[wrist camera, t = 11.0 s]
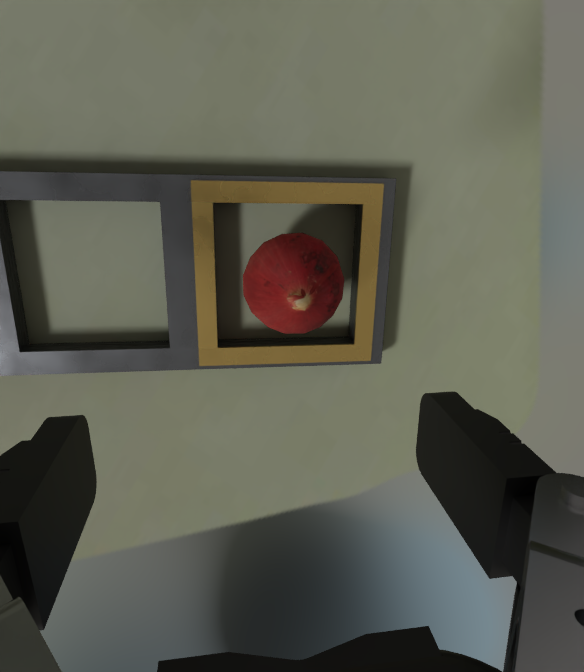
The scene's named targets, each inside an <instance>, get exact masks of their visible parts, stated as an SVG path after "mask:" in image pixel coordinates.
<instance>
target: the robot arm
mask: <svg viewBox="0 0 584 672" xmlns="http://www.w3.org/2000/svg"><path fill="white" fill-rule="evenodd" d="M416 457H417V463H418V467H419V470H420V472H421V474H422V476H423V477H424V479H425V480H426V482H427V483H428V485H429V486H430V488H431V490H432V491H433V493H434V494H435V495H436V497H437V499H438V500H439V501H440V503H441V505H442V506H443V508H444V509H445V511H446V513H447V514H448V516H449V517H450V519H451V520H452V522H453V523H454V525H455V526H456V528H457V529H458V531H459V533H460V534H461V536H462V537H463V538H464V540H465V542H466V543H467V545H468V546H469V548H470V549H471V551H472V552H473V554H474V556H475V557H476V559H477V560H478V562H479V563H480V565H481V566H482V568H483V569H484V571H485V572H486V574H487V575H488V577H489V578H490V579H491V578H499V577H508V576H513V577H514V579H515V580H516V581H517V585H516V590H515V595H514V601H513V609H512V615H511V623H510V629H509V635H508V642H507V649H506V656H505V663H504V670H503V672H584V477H581V476H577V475H573V474H565V473H556V472H555V471H554V470H553V469H552V468H550V467H549V466H548V465H547V464H546V463H545V462H544V461H543V460H542V459H541V458H539V457H538V456H537V455H536V454H535V453H534V452H533V451H532V450H531V449H530V448H528V447H527V446H526V445H525V444H522V443H521V440H520V439H519V438H517V437H516V436H515V435H514V434H513V433H512V434H511V433H510V430H509V429H508V428H506V427H505V426H504V425H503V424H502V423H501V422H500V421H499V420H498V419H496V418H494V417H492V416H490V415H488V414H486V413H484V412H482V411H480V410H478V409H476V410H475V409H474V408H473V407H472V406H470V405H469V404H468V403H467V402H466V401H465V400H464V399H463V398H462V397H461V396H460V395H459V394H458V393H457V392H439V393H426V394H424V395H423V396H422V399H421V403H420V413H419V424H418V434H417V445H416ZM95 495H96V471H95V464H94V458H93V452H92V446H91V440H90V434H89V428H88V423H87V420H86V418H85V416H83V415H77V416H61V417H48V418H47V419H46V420H45V421H44V422H43V424H42V425H41V427H40V428H39V429H38V431H37V432H36V434H35V435H34V436H33V438H32V439H31V440H28V441H21V442H19V443H18V444H17V445H15V446H14V447H12V448H11V449H9V450H8V451H6V452H5V453H3V454H2V455H1V456H0V672H62V671H61V669H60V668H59V666H58V664H57V662H56V660H55V658H54V657H53V655H52V653H51V651H50V649H49V647H48V645H47V644H46V642H45V640H44V638H43V636H42V635H41V633H40V631H39V630H44V628H45V626H46V623H47V620H48V618H49V615H50V613H51V610H52V608H53V605H54V603H55V600H56V597H57V595H58V592H59V590H60V587H61V585H62V582H63V580H64V577H65V574H66V572H67V569H68V567H69V564H70V562H71V559H72V556H73V554H74V551H75V549H76V546H77V544H78V541H79V539H80V536H81V533H82V531H83V528H84V526H85V523H86V521H87V518H88V516H89V513H90V510H91V508H92V505H93V503H94V499H95ZM157 672H502V671H500V670H498V669H497V668H494V667H492V666H490V665H488V664H486V663H484V662H482V661H479V660H477V659H474V658H471V657H468V656H465V655H462V654H458V653H454V652H450V651H446V650H439V648H438V646H437V644H436V642H435V639H434V637H433V635H432V633H431V631H430V628H429V626H425V627H418V628H409V629H402V630H394V631H387V632H379V633H371V634H365V635H363V636H360V637H358V638H355V639H353V640H351V641H348V642H346V643H343V644H341V645H338V646H336V647H334V648H331V649H329V650H326V651H324V652H322V653H319V654H317V655H314V656H312V657H309V658H307V659H304V660H289V659H282V658H273V657H264V656H256V655H249V654H240V653H232V652H225V653H218V654H210V655H203V656H195V657H187V658H179V659H172V660H164V661H159V662H158V670H157Z"/></svg>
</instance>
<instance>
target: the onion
mask: <svg viewBox="0 0 584 672" xmlns="http://www.w3.org/2000/svg"><path fill="white" fill-rule="evenodd" d="M343 287H344V277H343V274H342V270H341V267H340V264H339V261H338V258H337V256H336V255H335V254H334V253H333V252H332V251H331V249H330V248H329V247H328V246H327V245H326V244H325V243H324V242H323V241H322V240H319V239H317V238H314V237H312V236H309V235H307V234H304V233H291V234H281V235H279V236H277V237H275V238H272V239H270V240H268V241H266V242H264V243H263V244H262V245H261V246H260V247H259V248H258V249H257V251H256V252H255V253H254V254H253V255H252V256H251V257H250V259H249V262H248V264H247V267H246V269H245V272H244V274H243V293H244V297H245V299H246V301H247V303H248V305H249V308H250V310H251V312H252V313H253V314H254V315H255V316H256V317H257V318H258V319H260V320H261V321H262V322H263V323H264V324H265V325H266V326H267V327H269V328H272V329H274V330H277V331H279V332H282V333H284V334H289V333H307V332H309V331H311V330H314V329H316V328H319V327H321V326H322V325H323V324H324V323H325V322H326V321H327V320H328V319H330V318H331V317H332V316H333V315H334V313H335V311H336V309H337V307H338V305H339V303H340V301H341V300H342V296H343Z"/></svg>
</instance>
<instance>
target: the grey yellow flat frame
mask: <svg viewBox="0 0 584 672" xmlns="http://www.w3.org/2000/svg"><path fill="white" fill-rule="evenodd" d="M395 187H396V179H388V178H334V177H281V176H227V175H173V174H120V173H66V172H12V171H0V376H3V375H35V374H66V373H97V372H129V371H160V370H192V369H223V368H254V367H286V366H317V365H349V364H380V363H381V358H382V346H383V334H384V321H385V309H386V297H387V285H388V273H389V260H390V248H391V236H392V224H393V211H394V199H395ZM5 200H60V201H147V202H160V207H161V222H162V237H163V252H164V267H165V281H166V296H167V311H168V326H169V341H140V342H99V343H57V344H29V339H28V333H27V327H26V321H25V315H24V309H23V303H22V297H21V291H20V285H19V279H18V273H17V267H16V261H15V255H14V249H13V243H12V237H11V231H10V225H9V219H8V213H7V207H6V201H5ZM214 202H218V203H305V204H356V214H355V231H354V249H353V266H352V284H351V301H350V318H349V336H346V337H305V338H263V339H222V340H218V322H217V292H216V262H215V232H214Z"/></svg>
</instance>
